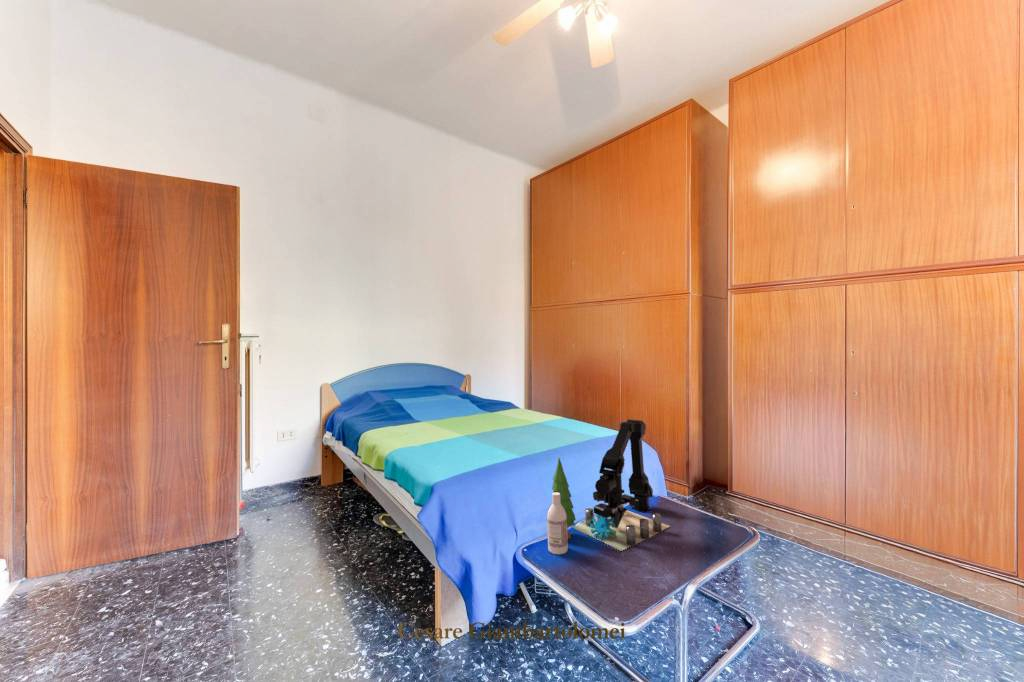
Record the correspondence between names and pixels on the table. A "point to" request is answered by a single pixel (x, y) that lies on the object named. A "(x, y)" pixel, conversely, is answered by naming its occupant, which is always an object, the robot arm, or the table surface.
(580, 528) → the board
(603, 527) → the gear
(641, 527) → the spacer posts
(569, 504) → the decorative tree
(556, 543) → the bath foam
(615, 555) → the table surface
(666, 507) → the table surface
